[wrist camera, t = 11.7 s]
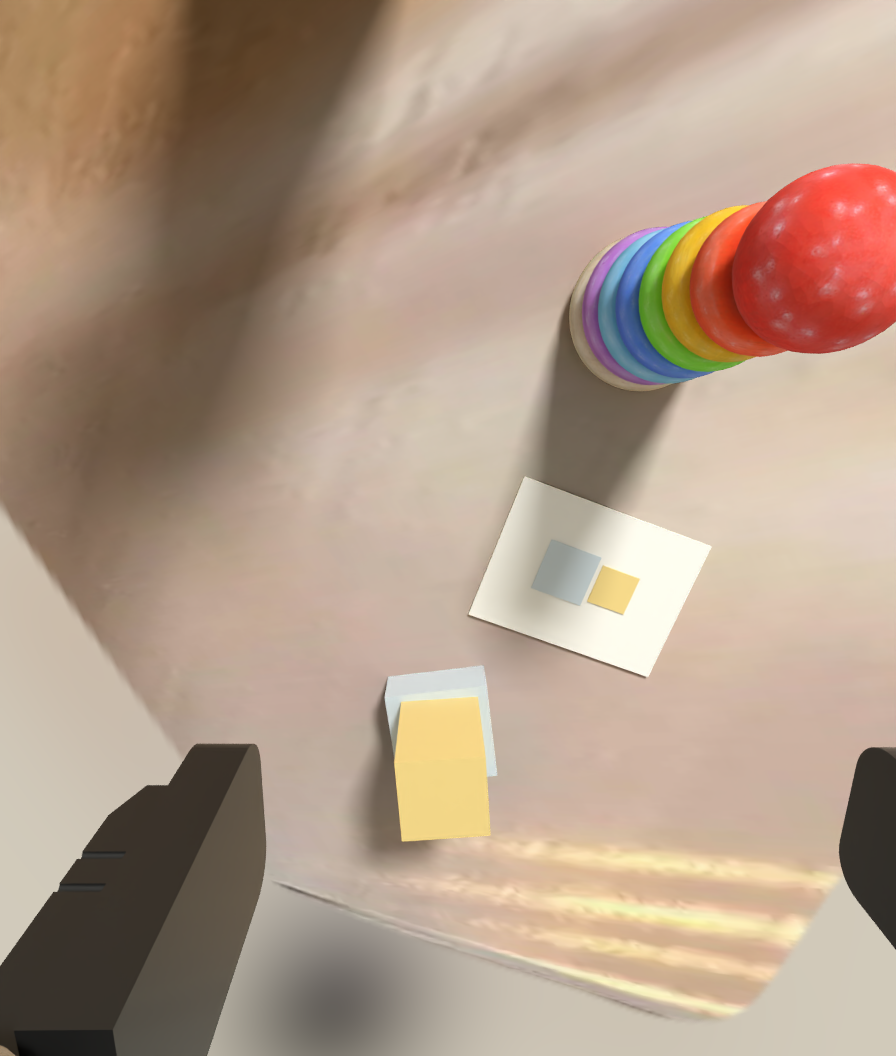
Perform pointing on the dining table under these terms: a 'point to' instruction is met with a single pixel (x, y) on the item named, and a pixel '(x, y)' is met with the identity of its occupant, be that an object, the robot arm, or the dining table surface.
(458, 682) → the base brick
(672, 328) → the stacking toy
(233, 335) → the dining table surface
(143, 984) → the robot arm
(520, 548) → the page
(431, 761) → the ochre brick
